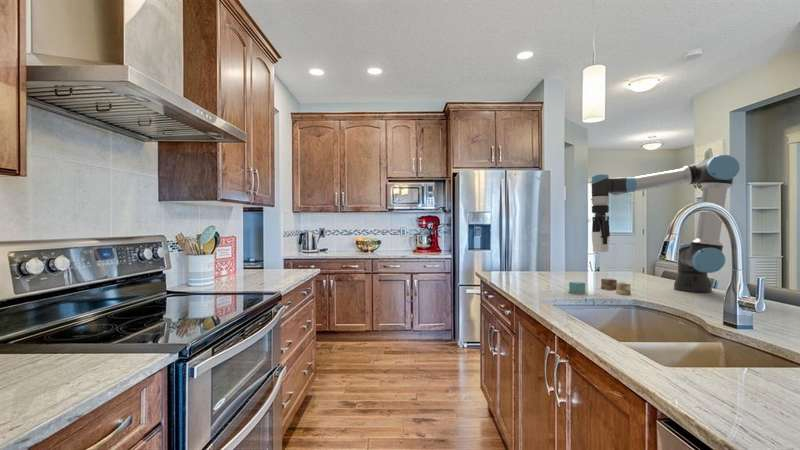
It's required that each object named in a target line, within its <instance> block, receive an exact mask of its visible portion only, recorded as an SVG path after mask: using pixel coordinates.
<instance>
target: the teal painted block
mask: <svg viewBox="0 0 800 450" xmlns="http://www.w3.org/2000/svg"><path fill="white" fill-rule="evenodd" d="M568 285H569V288H568V289H569V290H568V292H569V293H571V292H572V293H571V294H576V293H581V294H586V282H581V281H570V282H569V283H568Z"/></svg>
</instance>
